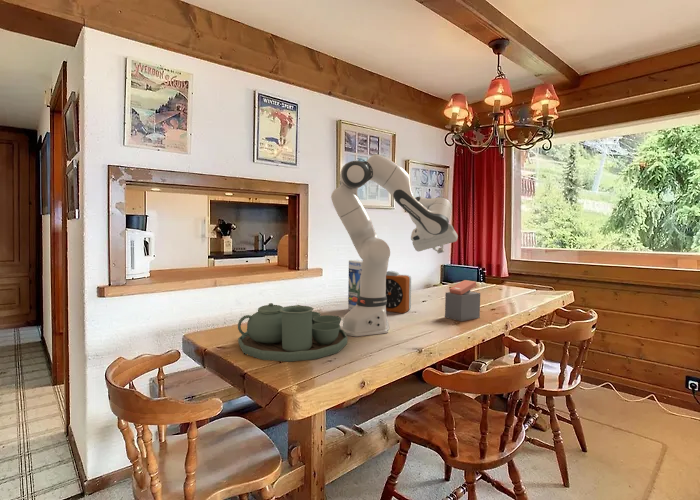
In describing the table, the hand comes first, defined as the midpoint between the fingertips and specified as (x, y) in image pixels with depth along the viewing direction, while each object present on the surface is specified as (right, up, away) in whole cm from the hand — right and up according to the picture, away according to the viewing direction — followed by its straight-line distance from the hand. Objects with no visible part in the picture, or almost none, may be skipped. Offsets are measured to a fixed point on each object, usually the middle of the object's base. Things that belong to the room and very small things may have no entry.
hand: (441, 251), depth 189 cm
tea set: (-63, -35, -35) cm, 80 cm away
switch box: (+12, -32, +8) cm, 35 cm away
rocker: (+13, -19, +8) cm, 24 cm away
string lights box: (-36, -31, +22) cm, 52 cm away
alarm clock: (-21, -31, +24) cm, 44 cm away
